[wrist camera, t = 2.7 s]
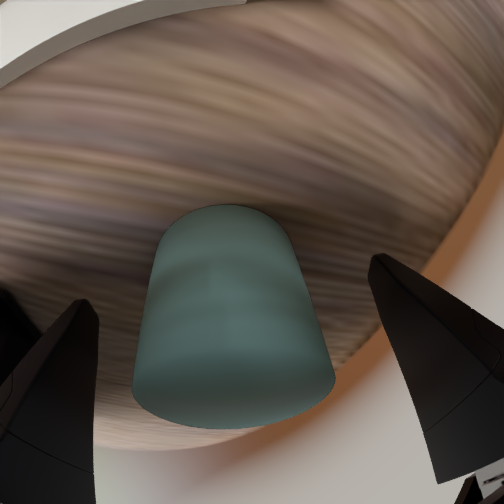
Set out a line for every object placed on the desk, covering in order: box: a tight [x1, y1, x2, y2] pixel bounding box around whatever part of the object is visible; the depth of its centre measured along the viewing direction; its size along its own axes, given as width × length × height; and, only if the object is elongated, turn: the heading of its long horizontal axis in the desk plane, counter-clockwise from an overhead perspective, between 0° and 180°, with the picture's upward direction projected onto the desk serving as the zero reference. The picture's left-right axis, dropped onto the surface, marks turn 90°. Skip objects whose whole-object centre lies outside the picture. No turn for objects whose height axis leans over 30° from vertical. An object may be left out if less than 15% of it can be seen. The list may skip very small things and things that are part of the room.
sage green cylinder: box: [132, 205, 336, 429], centre depth 7 cm, size 4×4×4 cm
